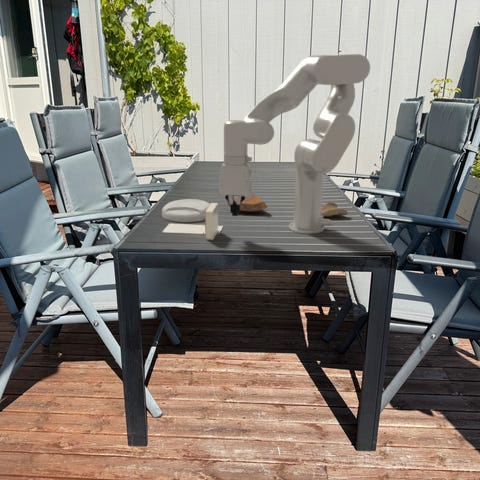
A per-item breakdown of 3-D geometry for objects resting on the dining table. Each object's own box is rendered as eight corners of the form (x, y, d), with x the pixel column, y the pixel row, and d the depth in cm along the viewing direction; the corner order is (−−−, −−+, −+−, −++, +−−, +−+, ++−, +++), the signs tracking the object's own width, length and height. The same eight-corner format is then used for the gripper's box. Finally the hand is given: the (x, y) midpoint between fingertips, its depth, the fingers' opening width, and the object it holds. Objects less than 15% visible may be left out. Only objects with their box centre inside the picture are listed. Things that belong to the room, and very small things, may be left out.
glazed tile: (218, 230, 161) (217, 203, 157) (212, 240, 152) (212, 211, 148) (211, 230, 161) (210, 202, 158) (205, 240, 152) (204, 211, 148)
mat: (223, 227, 166) (223, 226, 166) (212, 248, 147) (212, 246, 147) (169, 225, 168) (169, 223, 168) (152, 244, 150) (152, 243, 149)
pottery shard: (349, 218, 180) (338, 205, 188) (350, 209, 177) (340, 196, 185) (323, 222, 178) (314, 209, 186) (324, 212, 175) (315, 199, 183)
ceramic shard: (275, 207, 191) (244, 196, 197) (276, 193, 188) (245, 183, 194) (258, 222, 181) (226, 211, 187) (259, 208, 177) (226, 197, 183)
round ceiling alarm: (228, 214, 189) (228, 199, 186) (204, 234, 167) (203, 218, 165) (174, 207, 197) (174, 193, 194) (144, 225, 175) (143, 210, 172)
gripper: (259, 158, 149) (258, 212, 155) (214, 157, 151) (215, 210, 157) (257, 163, 142) (256, 219, 148) (210, 161, 144) (211, 217, 150)
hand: (235, 214), depth 153 cm, fingers closed
